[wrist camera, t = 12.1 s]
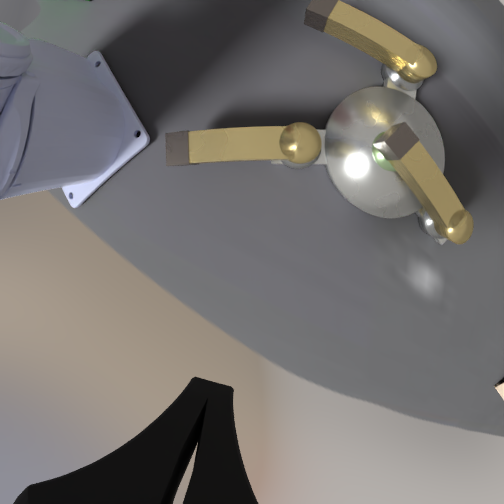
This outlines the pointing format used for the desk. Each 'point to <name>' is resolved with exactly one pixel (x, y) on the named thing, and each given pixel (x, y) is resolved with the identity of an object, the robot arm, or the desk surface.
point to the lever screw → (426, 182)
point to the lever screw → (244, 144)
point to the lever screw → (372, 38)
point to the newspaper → (500, 389)
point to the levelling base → (366, 154)
